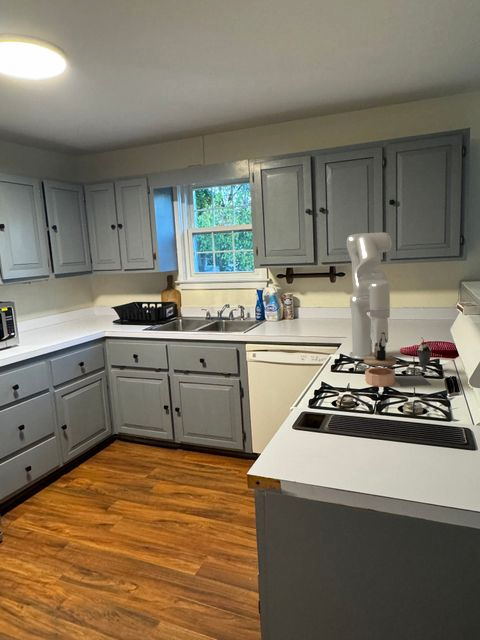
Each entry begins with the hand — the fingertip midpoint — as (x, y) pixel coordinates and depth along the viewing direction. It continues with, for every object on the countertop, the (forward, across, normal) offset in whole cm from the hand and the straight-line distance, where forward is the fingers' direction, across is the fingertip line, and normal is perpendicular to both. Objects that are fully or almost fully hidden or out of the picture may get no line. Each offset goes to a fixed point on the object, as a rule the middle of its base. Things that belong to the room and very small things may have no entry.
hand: (380, 358), depth 178 cm
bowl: (+11, 0, 0) cm, 11 cm away
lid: (+2, 0, 0) cm, 2 cm away
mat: (+11, 0, +12) cm, 16 cm away
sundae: (+11, -12, +22) cm, 27 cm away
